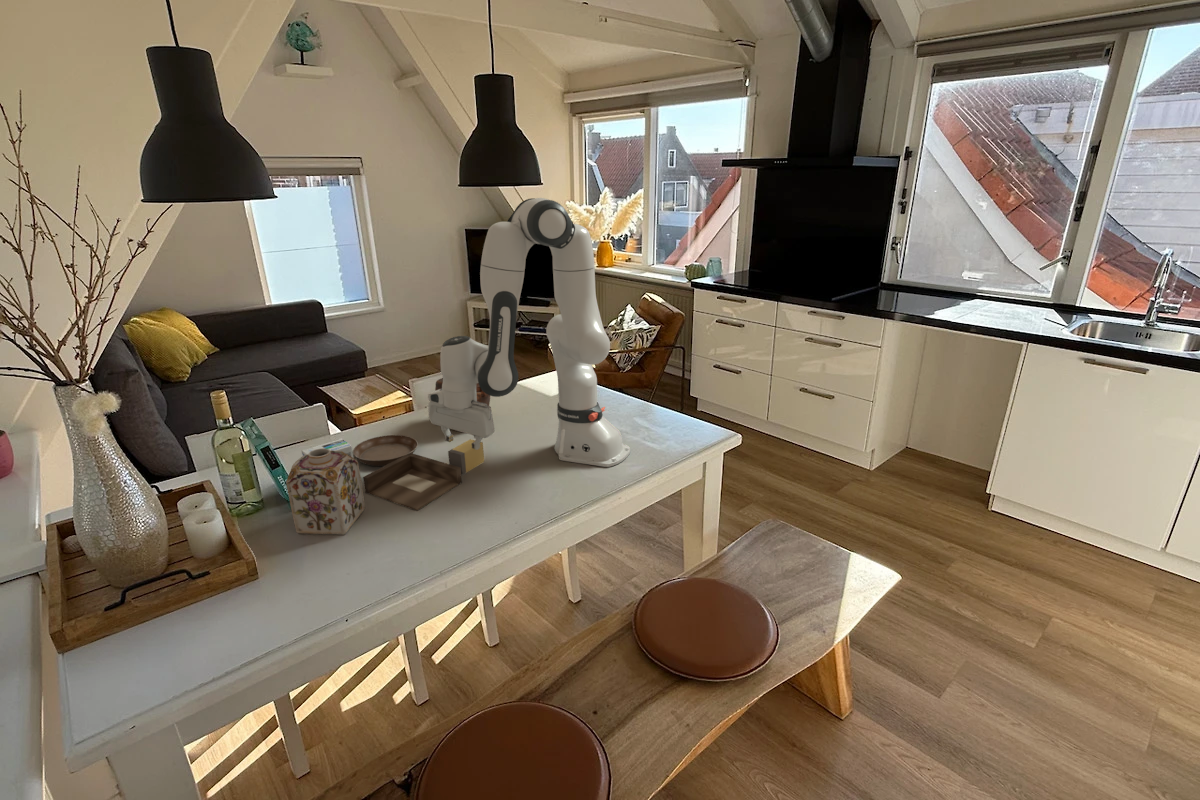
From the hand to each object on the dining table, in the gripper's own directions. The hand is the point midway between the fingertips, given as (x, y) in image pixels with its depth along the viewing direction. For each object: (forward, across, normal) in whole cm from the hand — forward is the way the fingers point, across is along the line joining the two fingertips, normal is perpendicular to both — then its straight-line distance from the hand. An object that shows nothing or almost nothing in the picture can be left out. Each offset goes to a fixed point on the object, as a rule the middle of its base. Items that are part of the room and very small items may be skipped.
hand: (462, 444), depth 164 cm
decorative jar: (+8, +8, +36) cm, 38 cm away
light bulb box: (+8, +24, +24) cm, 35 cm away
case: (+7, +19, -24) cm, 32 cm away
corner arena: (+7, +3, +15) cm, 17 cm away
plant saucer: (+8, +24, +5) cm, 26 cm away
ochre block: (+7, -1, -1) cm, 7 cm away
